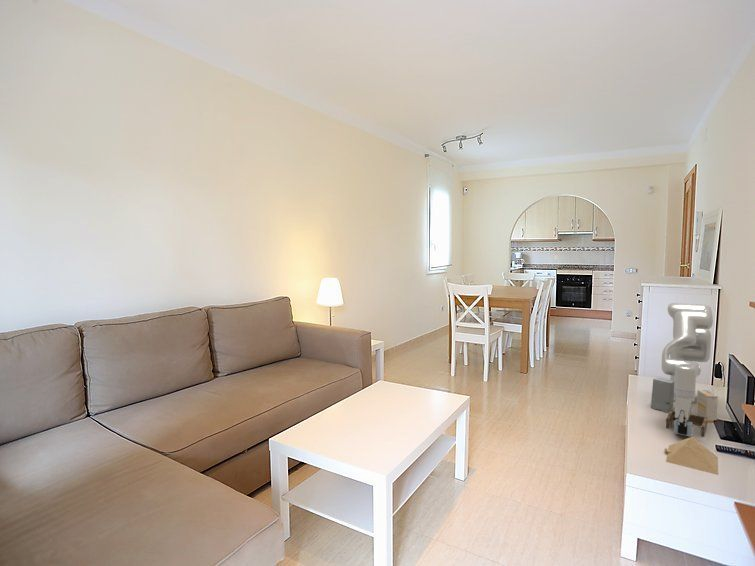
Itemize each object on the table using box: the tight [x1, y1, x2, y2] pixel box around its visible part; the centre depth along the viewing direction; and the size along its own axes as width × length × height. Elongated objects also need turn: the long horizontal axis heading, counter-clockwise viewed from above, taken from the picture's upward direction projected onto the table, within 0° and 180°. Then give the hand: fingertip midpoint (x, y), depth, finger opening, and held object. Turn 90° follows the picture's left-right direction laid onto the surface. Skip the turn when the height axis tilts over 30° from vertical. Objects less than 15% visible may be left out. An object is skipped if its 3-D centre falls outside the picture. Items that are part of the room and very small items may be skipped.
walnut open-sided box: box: [665, 409, 708, 438], centre depth 189 cm, size 13×14×4 cm
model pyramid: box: [664, 436, 719, 476], centre depth 162 cm, size 17×17×10 cm
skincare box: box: [650, 376, 674, 413], centre depth 210 cm, size 8×7×16 cm
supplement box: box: [696, 389, 719, 423], centre depth 197 cm, size 8×5×13 cm, turn 168°
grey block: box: [673, 419, 694, 438], centre depth 181 cm, size 4×6×5 cm
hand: (683, 431), depth 181 cm, fingers closed on grey block, 4 cm apart
